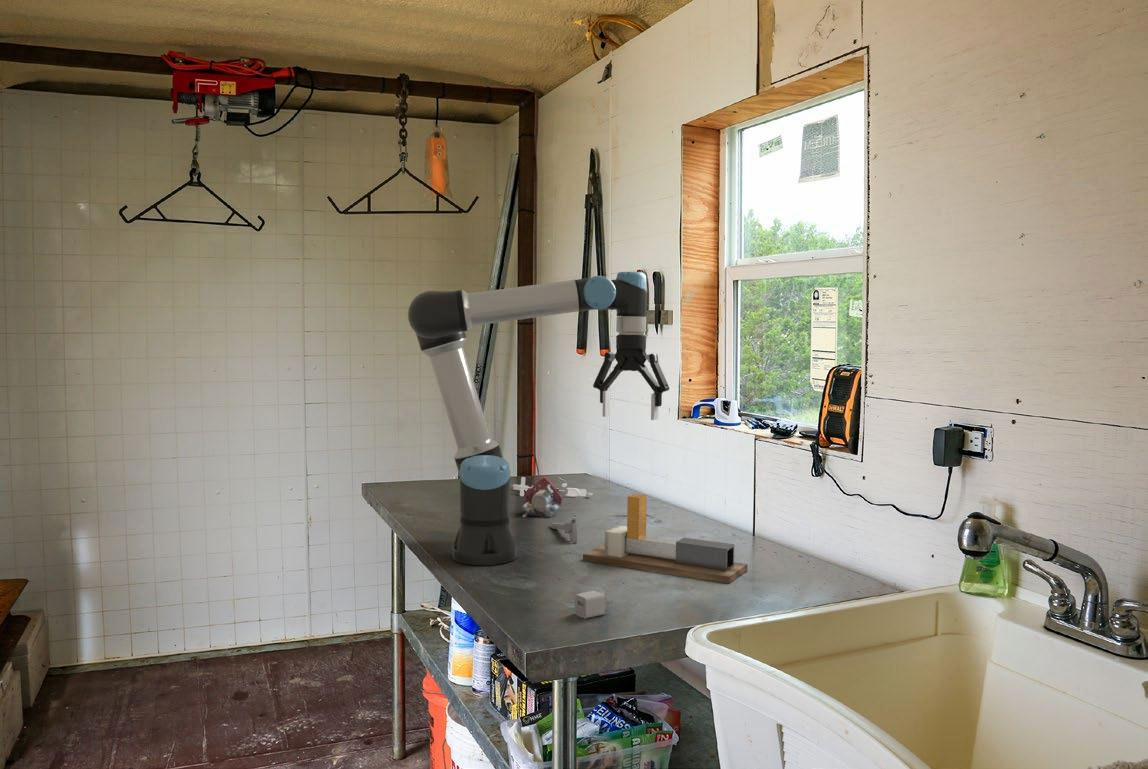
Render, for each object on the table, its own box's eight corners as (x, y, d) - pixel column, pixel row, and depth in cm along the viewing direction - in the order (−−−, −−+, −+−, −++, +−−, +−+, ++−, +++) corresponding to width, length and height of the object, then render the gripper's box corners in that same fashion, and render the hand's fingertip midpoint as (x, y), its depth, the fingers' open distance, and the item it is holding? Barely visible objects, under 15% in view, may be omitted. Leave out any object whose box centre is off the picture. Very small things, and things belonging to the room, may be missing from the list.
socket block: (621, 557, 207) (621, 533, 207) (604, 554, 210) (604, 531, 209) (635, 550, 214) (636, 527, 214) (619, 547, 216) (619, 525, 216)
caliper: (577, 544, 227) (577, 519, 226) (573, 544, 226) (573, 520, 226) (553, 527, 246) (553, 504, 245) (549, 527, 245) (549, 504, 245)
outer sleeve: (726, 571, 196) (726, 549, 196) (675, 563, 202) (675, 542, 202) (733, 566, 201) (734, 544, 200) (684, 558, 206) (684, 537, 206)
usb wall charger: (574, 613, 171) (574, 593, 171) (603, 607, 175) (603, 587, 175) (586, 619, 168) (586, 598, 168) (615, 613, 172) (615, 592, 172)
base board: (729, 583, 192) (729, 576, 192) (582, 560, 210) (582, 554, 210) (747, 570, 203) (747, 564, 203) (606, 549, 220) (606, 543, 220)
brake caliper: (568, 503, 266) (561, 475, 258) (560, 531, 258) (552, 503, 250) (532, 500, 269) (524, 473, 261) (522, 529, 261) (514, 501, 253)
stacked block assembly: (701, 563, 200) (702, 505, 199) (613, 550, 210) (614, 494, 210) (707, 559, 203) (709, 502, 202) (621, 546, 214) (621, 492, 213)
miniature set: (484, 493, 289) (492, 492, 301) (591, 504, 284) (595, 502, 296) (486, 473, 290) (494, 473, 302) (593, 483, 285) (597, 483, 297)
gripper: (683, 334, 222) (681, 419, 223) (594, 333, 234) (594, 413, 236) (670, 334, 215) (669, 422, 217) (580, 333, 228) (579, 416, 229)
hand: (630, 418), depth 226 cm, fingers open, 13 cm apart
